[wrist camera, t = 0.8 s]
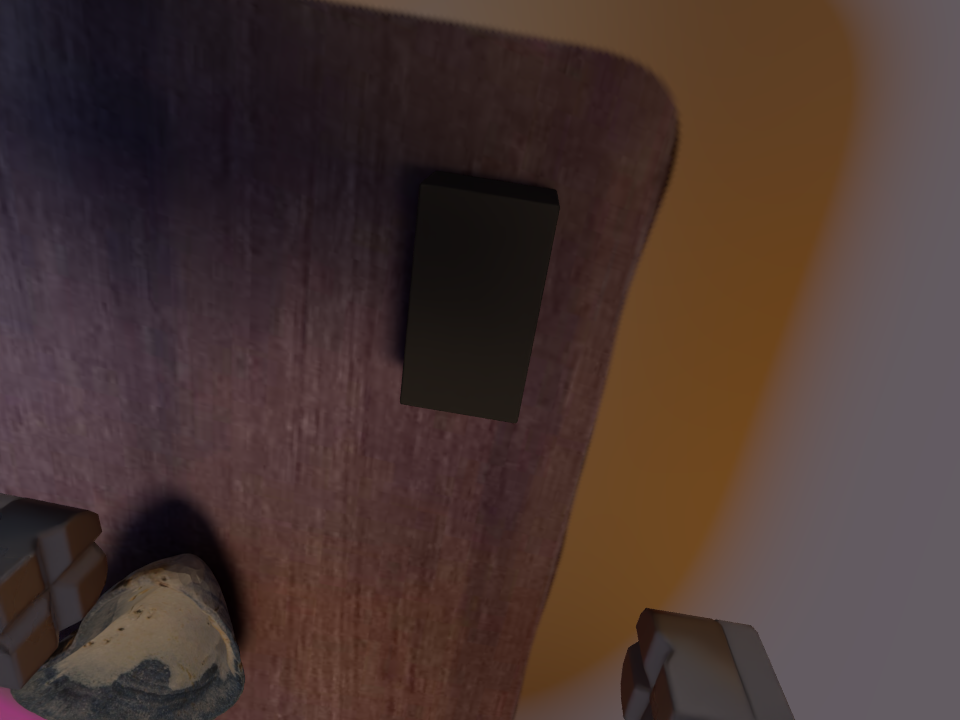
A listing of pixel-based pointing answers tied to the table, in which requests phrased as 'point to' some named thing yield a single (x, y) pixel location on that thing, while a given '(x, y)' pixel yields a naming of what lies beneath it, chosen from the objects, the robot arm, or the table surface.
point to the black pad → (475, 293)
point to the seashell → (145, 652)
